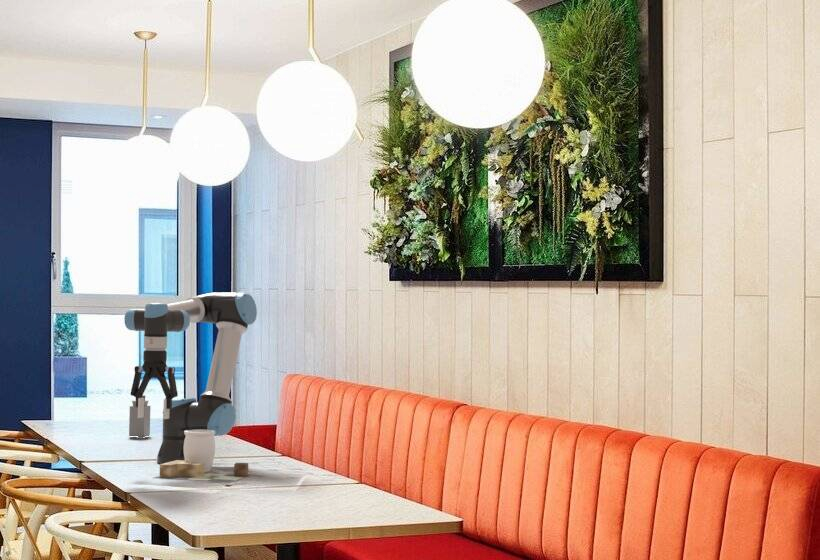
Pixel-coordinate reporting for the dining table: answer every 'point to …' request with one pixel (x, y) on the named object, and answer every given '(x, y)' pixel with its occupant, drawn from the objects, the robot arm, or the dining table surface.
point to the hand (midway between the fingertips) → (153, 418)
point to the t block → (182, 469)
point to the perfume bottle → (139, 421)
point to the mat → (209, 478)
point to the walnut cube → (240, 469)
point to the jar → (200, 447)
